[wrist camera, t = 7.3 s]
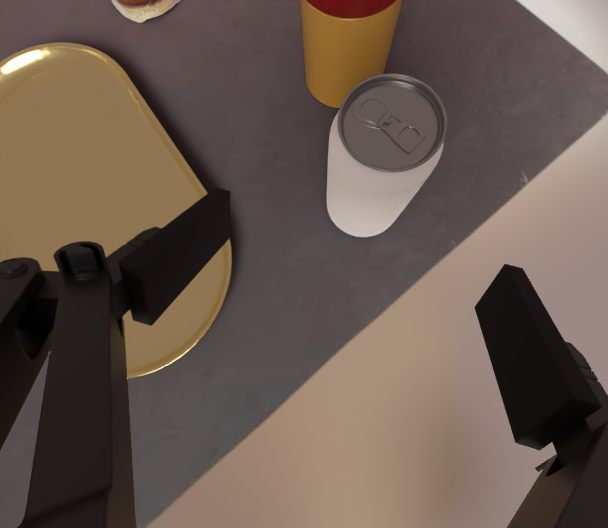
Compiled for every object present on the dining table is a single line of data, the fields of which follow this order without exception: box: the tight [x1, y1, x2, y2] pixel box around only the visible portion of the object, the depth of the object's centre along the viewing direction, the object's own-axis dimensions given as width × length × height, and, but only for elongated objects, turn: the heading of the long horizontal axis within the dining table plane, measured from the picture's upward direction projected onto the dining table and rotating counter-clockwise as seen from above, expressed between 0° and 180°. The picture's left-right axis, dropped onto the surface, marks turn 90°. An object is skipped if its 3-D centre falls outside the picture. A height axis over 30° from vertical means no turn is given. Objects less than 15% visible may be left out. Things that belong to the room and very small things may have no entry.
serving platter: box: [0, 42, 232, 379], centre depth 29 cm, size 19×35×2 cm, turn 35°
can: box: [327, 73, 447, 237], centre depth 22 cm, size 6×6×12 cm
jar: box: [299, 0, 403, 108], centre depth 25 cm, size 8×8×10 cm
